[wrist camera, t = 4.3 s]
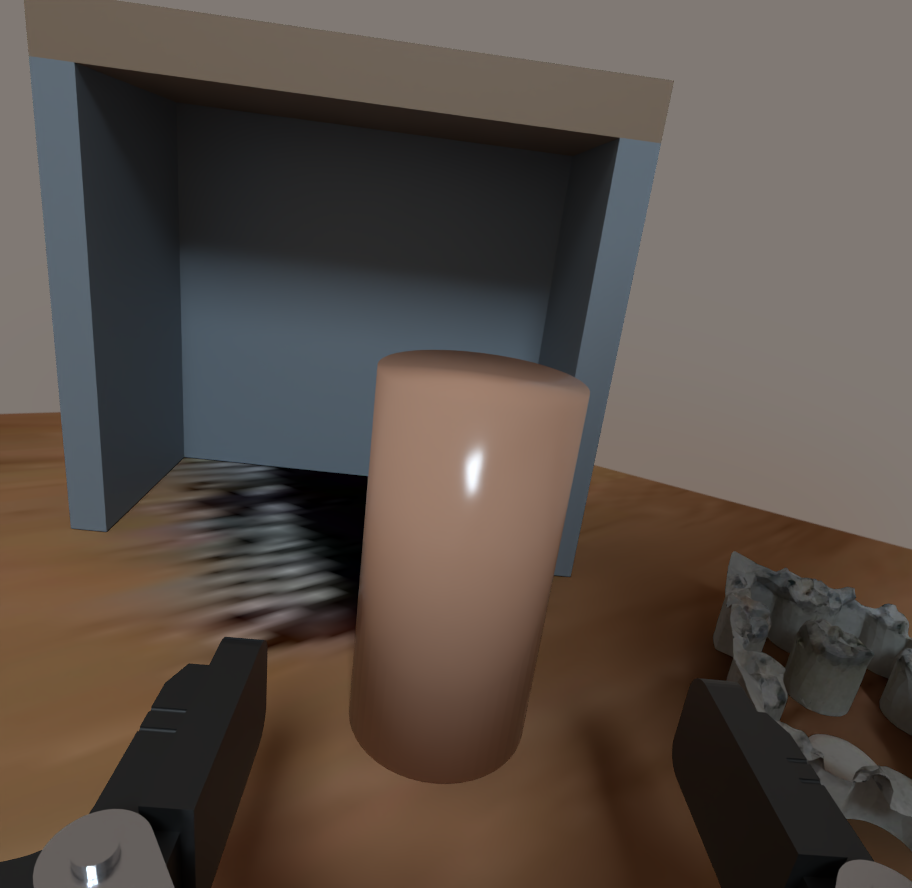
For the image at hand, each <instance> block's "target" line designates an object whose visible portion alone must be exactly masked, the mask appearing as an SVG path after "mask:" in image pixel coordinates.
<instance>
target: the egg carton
mask: <svg viewBox="0 0 912 888" xmlns="http://www.w3.org/2000/svg"><path fill="white" fill-rule="evenodd" d="M725 595H726V597H725V600H724V602H723V605H722V609H721V612H720V615H719V618H718V621H717V625H716V629H715V632H714V635H713V641H714V646H715V649H717V650H718V651H721V652H723V653H725V654H728V655H730V656H731V657H733V661H732V664H731V667H730V670H729V673H728V676H727V680H726V681H734V682H737V683H739V684H740V685H741V687H742V688H743V690H744V691H745V693H746V694H747V696H748V698H749V699H750V701H751V702H752V704H753V706H754V707H755V709H756V710H757V712H766V713H767V714H768V715H769V716H771V717H772V718H773V719H774V720H775V721H776V722H777V723H778V724H779V725H781V726H782V727H783V728H784V729H785V730H786V731H787V732H788V733H790V734H791V736H792V737H793V739H794V740H795V742H796V743H797V745H798V746H799V748H800V749H801V751H802V752H803V754H804V755H805V757H806V758H807V764H810V765H811V766H812V768H813V769H814V771H815V772H816V774H817V775H818V777H819V778H820V783H821V785H824V786H825V787H826V789H827V790H828V792H829V793H830V795H831V796H832V798H833V800H834V801H835V803H836V804H837V806H838V807H839V809H840V810H841V812H842V813H843V815H844V816H845V818H846V819H856V820H863V821H867V822H870V823H872V824H875V825H877V826H879V827H881V828H883V829H885V830H886V831H888V832H890V833H891V834H892V835H894V836H895V837H897V838H898V839H899V840H901V841H902V842H903V843H904V844H905V845H906V846H907V847H908V848H909V849H910V850H911V851H912V779H910V778H908V777H907V776H905V775H903V774H901V773H899V772H897V771H895V770H893V769H891V768H889V767H887V766H883V767H881V766H880V765H879V766H877V765H876V764H875V763H874V762H873V760H872V759H870V758H869V757H868V756H867V755H866V754H865V753H864V752H863V751H861V750H860V749H859V748H857V747H856V746H854V745H852V744H851V743H849V742H848V741H845V740H843V739H841V738H838V737H835V736H831V735H826V734H815V735H812V736H810V737H809V738H808V736H807V735H806V734H805V733H804V732H803V731H801V730H797V729H794V728H792V727H790V726H789V725H787V724H785V723H783V722H780V718H781V715H782V713H783V710H784V707H785V705H786V702H787V698H788V695H790V696H791V697H792V698H793V699H794V700H795V701H797V702H798V703H800V704H801V705H803V706H804V707H805V708H807V709H809V710H812V711H814V712H817V713H819V714H823V715H828V716H843V715H845V714H847V712H848V711H849V709H850V707H851V704H852V702H853V700H854V698H855V695H856V693H857V691H858V689H859V687H860V684H861V682H862V679H863V677H864V674H865V672H866V669H868V670H870V671H872V672H874V673H876V674H878V675H880V676H883V677H885V678H888V682H887V684H886V687H885V689H884V692H883V694H882V696H881V698H880V709H881V711H882V713H883V714H884V715H885V716H886V718H887V719H888V720H889V721H890V722H891V723H893V724H894V725H895V726H896V727H898V728H899V729H901V730H903V731H904V732H906V733H908V734H910V735H911V736H912V638H910V637H909V636H908V629H909V622H908V620H907V619H906V617H905V616H904V614H902V613H900V612H898V610H897V608H896V606H895V605H892V604H884V605H883V606H881V607H880V608H877V609H873V608H870V607H866V606H863V605H861V604H860V603H859V602H857V601H856V600H855V598H856V595H855V589H854V588H851V587H845V588H841V589H832V588H829V587H827V586H826V585H825V584H824V583H823V582H822V581H817V580H816V579H811V578H801V577H799V576H798V575H796V574H794V573H792V572H790V571H789V570H788V569H787V568H784V569H782V570H780V571H777V572H775V571H772V570H770V569H768V568H766V567H764V566H761V565H758V564H757V563H755V562H753V561H752V560H750V559H748V558H746V557H744V556H743V555H741V554H739V553H737V552H735V551H734V552H733V553H732V555H731V559H730V562H729V566H728V572H727V581H726V587H725ZM767 637H768V638H769V639H770V640H771V641H772V642H773V643H774V644H775V645H777V646H778V647H780V648H781V649H783V650H785V651H786V652H788V653H790V655H789V658H788V661H787V664H786V667H785V668H784V667H783V666H782V665H781V664H780V663H779V662H777V661H776V660H775V659H774V658H772V657H771V656H769V655H767V654H765V653H763V652H762V649H763V646H764V643H765V641H766V638H767ZM787 693H788V694H787Z"/></svg>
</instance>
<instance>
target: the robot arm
mask: <svg viewBox="0 0 912 888" xmlns="http://www.w3.org/2000/svg"><path fill="white" fill-rule="evenodd" d="M266 689H267V642H266V640H256V639H244V638H233V637H224V638H223V639H222V641H221V643H220V645H219V647H218V649H217V651H216V653H215V655H214V657H213V659H212V661H211V663H210V665H199V664H188V665H187V666H185V667H184V668H183V669H182V670H180V671H179V672H178V673H177V674H176V675H174V676H173V677H172V678H171V679H169V680H168V681H167V682H166V683H165V684H164V686H163V688H162V689H161V691H160V693H159V695H158V696H157V698H156V700H155V702H154V703H153V705H152V708H151V711H149V712H148V714H147V715H146V717H145V719H144V721H143V722H142V724H141V726H140V730H139V731H137V733H136V734H135V736H134V738H133V740H132V741H131V743H130V745H129V747H128V748H127V750H126V752H125V754H124V755H123V757H122V759H121V761H120V762H119V764H118V766H117V767H116V769H115V771H114V773H113V774H112V776H111V778H110V780H109V781H108V783H107V785H106V787H105V788H104V790H103V792H102V793H101V795H100V797H99V799H98V800H97V802H96V804H95V806H94V807H93V809H92V810H91V812H90V813H89V814H88V815H85V816H83V817H81V818H79V819H77V820H75V821H73V822H72V823H70V824H69V825H67V826H66V827H64V828H63V829H62V830H60V831H59V832H58V833H57V834H56V835H55V836H54V837H53V838H52V839H51V840H50V841H49V842H48V843H47V845H46V846H45V847H44V848H43V850H41V851H38V852H36V853H33V854H31V855H28V856H24V857H20V858H17V859H12V860H8V861H3V862H0V888H211V886H212V883H213V880H214V877H215V874H216V871H217V868H218V865H219V862H220V859H221V856H222V853H223V850H224V847H225V844H226V841H227V838H228V835H229V832H230V829H231V827H232V824H233V821H234V818H235V815H236V812H237V809H238V806H239V803H240V800H241V797H242V794H243V791H244V788H245V785H246V782H247V779H248V776H249V773H250V770H251V767H252V764H253V761H254V758H255V755H256V752H257V749H258V746H259V743H260V740H261V736H262V732H263V727H264V721H265V713H266ZM672 759H673V767H674V771H675V775H676V778H677V780H678V783H679V785H680V788H681V790H682V793H683V795H684V797H685V800H686V802H687V805H688V807H689V810H690V812H691V815H692V817H693V819H694V822H695V824H696V827H697V829H698V832H699V834H700V837H701V839H702V841H703V844H704V846H705V849H706V851H707V854H708V856H709V859H710V861H711V863H712V866H713V868H714V871H715V873H716V876H717V878H718V880H719V883H720V885H721V888H912V882H911V881H910V880H909V879H907V878H906V877H905V876H903V875H901V874H900V873H898V872H896V871H895V870H893V869H891V868H889V867H887V866H884V865H882V864H879V863H876V862H874V860H873V859H872V857H871V856H870V854H869V853H868V851H867V850H866V848H865V847H864V845H863V844H862V842H861V841H860V839H859V837H858V836H857V834H856V833H855V831H854V830H853V828H852V827H851V825H850V824H849V822H848V821H847V819H846V818H845V816H844V815H843V813H842V812H841V810H840V809H839V807H838V806H837V804H836V803H835V801H834V800H833V798H832V796H831V795H830V793H829V792H828V790H827V789H826V787H825V786H824V785H821V783H820V778H819V777H818V775H817V774H816V772H815V771H814V769H813V768H812V766H811V765H810V764H807V758H806V757H805V755H804V754H803V752H802V751H801V749H800V748H799V746H798V745H797V743H796V742H795V740H794V739H793V737H792V736H791V734H790V733H788V732H787V731H786V730H785V729H784V728H783V727H782V726H781V725H779V724H778V723H777V722H776V721H775V720H774V719H773V718H772V717H771V716H769V715H768V714H767V713H766V712H757V710H756V709H755V707H754V706H753V704H752V702H751V701H750V699H749V698H748V696H747V694H746V693H745V691H744V690H743V688H742V687H741V685H740V684H739V683H737V682H734V681H724V680H712V679H700V678H697V679H694V680H693V681H692V683H691V685H690V687H689V690H688V693H687V697H686V700H685V703H684V707H683V710H682V713H681V717H680V720H679V723H678V727H677V730H676V733H675V737H674V741H673V748H672Z"/></svg>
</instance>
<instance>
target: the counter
mask: <svg viewBox="0 0 912 888" xmlns="http://www.w3.org/2000/svg"><path fill="white" fill-rule="evenodd" d="M24 6H25V18H26V29H27V40H28V51H29V63H30V73H31V84H32V96H33V106H34V118H35V129H36V141H37V152H38V163H39V174H40V186H41V197H42V208H43V219H44V230H45V242H46V253H47V264H48V275H49V285H50V296H51V297H50V298H51V308H52V320H53V331H54V342H55V353H56V365H57V376H58V387H59V399H60V408H61V421H62V432H63V443H64V455H65V466H66V477H67V488H68V500H69V511H70V522H71V528H73V529H84V530H94V531H104V532H107V531H108V530H109V529H110V528H111V527H112V526H113V525H114V524H115V523H116V522H117V521H118V520H119V519H120V518H121V517H122V516H123V515H124V514H125V513H126V512H128V511H129V510H130V509H131V508H132V507H133V506H134V505H135V504H136V503H137V502H138V501H139V500H140V499H141V498H142V497H143V496H144V495H145V494H146V493H147V492H148V491H149V490H150V489H151V488H152V487H153V486H154V485H156V484H157V483H158V482H159V481H160V480H161V479H162V478H163V477H164V476H165V475H166V474H167V473H168V472H169V471H170V470H171V469H172V468H173V467H174V466H175V465H176V464H177V463H178V462H179V461H180V460H181V459H182V458H184V457H191V458H200V459H210V460H219V461H229V462H239V463H248V464H258V465H267V466H277V467H286V468H296V469H306V470H315V471H325V472H334V473H344V474H353V475H363V476H368V474H369V462H370V450H371V438H372V426H373V413H374V401H375V389H376V377H377V365H378V362H379V361H380V360H381V359H382V358H383V357H386V356H388V355H391V354H394V353H399V352H405V351H414V350H457V351H469V352H479V353H486V354H493V355H500V356H506V357H511V358H516V359H521V360H525V361H529V362H533V363H537V364H541V365H544V366H547V367H550V368H553V369H556V370H559V371H562V372H564V373H567V374H569V375H571V376H573V377H575V378H577V379H578V380H580V381H581V382H583V383H584V384H585V385H586V386H587V387H588V388H589V390H590V397H589V402H588V407H587V412H586V417H585V422H584V427H583V432H582V437H581V442H580V447H579V452H578V457H577V462H576V467H575V472H574V477H573V482H572V487H571V492H570V497H569V502H568V507H567V512H566V517H565V522H564V527H563V532H562V537H561V542H560V547H559V552H558V557H557V562H556V567H555V572H554V575H557V576H568V577H570V576H571V572H572V567H573V562H574V557H575V552H576V548H577V543H578V538H579V533H580V529H581V524H582V519H583V514H584V509H585V505H586V500H587V495H588V490H589V485H590V481H591V476H592V471H593V466H594V461H595V457H596V452H597V447H598V442H599V437H600V433H601V428H602V423H603V418H604V413H605V409H606V404H607V399H608V394H609V389H610V384H611V380H612V375H613V370H614V366H615V360H616V356H617V351H618V347H619V341H620V337H621V332H622V327H623V323H624V318H625V313H626V308H627V303H628V299H629V294H630V289H631V284H632V280H633V275H634V269H635V265H636V260H637V256H638V251H639V246H640V241H641V236H642V232H643V227H644V222H645V217H646V212H647V207H648V203H649V198H650V193H651V189H652V184H653V179H654V173H655V169H656V165H657V160H658V154H659V150H660V145H661V140H662V136H663V131H664V126H665V121H666V116H667V111H668V107H669V102H670V98H671V93H672V88H673V83H674V81H672V80H665V79H658V78H651V77H644V76H637V75H630V74H624V73H617V72H610V71H603V70H596V69H589V68H581V67H575V66H568V65H561V64H554V63H547V62H539V61H533V60H526V59H519V58H512V57H505V56H498V55H491V54H485V53H478V52H471V51H464V50H457V49H450V48H443V47H436V46H429V45H422V44H415V43H408V42H401V41H394V40H387V39H381V38H374V37H366V36H360V35H353V34H345V33H339V32H332V31H325V30H317V29H311V28H304V27H297V26H290V25H283V24H276V23H269V22H263V21H256V20H249V19H242V18H235V17H227V16H221V15H214V14H207V13H200V12H193V11H186V10H179V9H172V8H165V7H158V6H151V5H145V4H138V3H131V2H123V1H117V0H24Z"/></svg>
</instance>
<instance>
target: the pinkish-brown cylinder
mask: <svg viewBox="0 0 912 888" xmlns="http://www.w3.org/2000/svg"><path fill="white" fill-rule="evenodd" d="M589 397H590V390H589V388H588V387H587V386H586V385H585V384H584V383H583V382H581V381H580V380H578V379H577V378H575V377H573V376H571V375H569V374H567V373H564V372H562V371H559V370H556V369H553V368H550V367H547V366H544V365H541V364H537V363H533V362H529V361H525V360H521V359H516V358H511V357H506V356H500V355H493V354H486V353H479V352H469V351H457V350H414V351H405V352H399V353H394V354H391V355H388V356H386V357H383V358H382V359H381V360H380V361H379V362H378V365H377V377H376V389H375V401H374V413H373V426H372V438H371V450H370V462H369V474H368V486H367V499H366V511H365V523H364V535H363V547H362V559H361V571H360V584H359V596H358V608H357V620H356V632H355V644H354V657H353V669H352V681H351V693H350V705H349V719H350V724H351V728H352V731H353V733H354V735H355V737H356V739H357V741H358V742H359V744H360V745H361V747H362V748H363V749H364V750H365V751H366V752H367V753H368V755H369V756H371V757H372V758H373V759H374V760H375V761H376V762H378V763H379V764H381V765H382V766H384V767H385V768H387V769H389V770H391V771H393V772H395V773H397V774H399V775H402V776H404V777H407V778H410V779H414V780H418V781H422V782H428V783H437V784H451V783H462V782H466V781H471V780H475V779H478V778H481V777H484V776H486V775H488V774H490V773H492V772H494V771H495V770H497V769H498V768H500V767H501V766H502V765H503V764H505V763H506V762H507V761H508V760H509V759H510V757H511V756H512V755H513V754H514V752H515V751H516V749H517V747H518V745H519V743H520V739H521V736H522V732H523V727H524V722H525V717H526V712H527V707H528V702H529V697H530V692H531V687H532V682H533V677H534V672H535V667H536V662H537V657H538V652H539V647H540V642H541V637H542V632H543V627H544V622H545V617H546V612H547V607H548V602H549V597H550V592H551V587H552V582H553V577H554V572H555V567H556V562H557V557H558V552H559V547H560V542H561V537H562V532H563V527H564V522H565V517H566V512H567V507H568V502H569V497H570V492H571V487H572V482H573V477H574V472H575V467H576V462H577V457H578V452H579V447H580V442H581V437H582V432H583V427H584V422H585V417H586V412H587V407H588V402H589Z"/></svg>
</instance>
